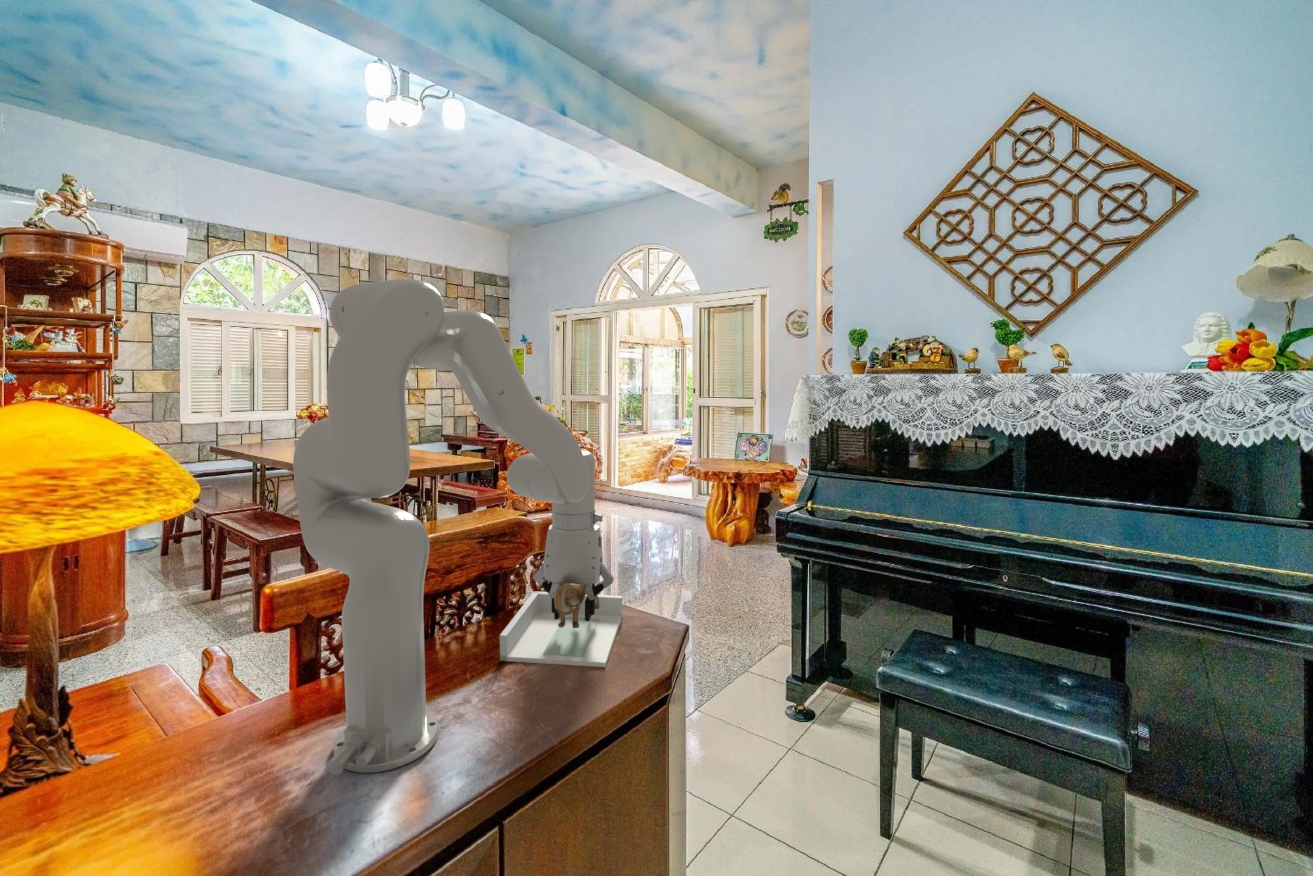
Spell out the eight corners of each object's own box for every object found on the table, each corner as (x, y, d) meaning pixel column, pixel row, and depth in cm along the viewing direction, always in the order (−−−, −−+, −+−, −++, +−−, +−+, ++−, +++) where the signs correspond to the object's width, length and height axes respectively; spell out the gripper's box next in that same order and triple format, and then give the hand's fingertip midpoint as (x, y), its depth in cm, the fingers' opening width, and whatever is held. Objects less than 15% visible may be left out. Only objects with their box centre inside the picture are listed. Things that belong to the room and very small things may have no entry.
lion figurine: (577, 639, 102) (576, 590, 101) (548, 636, 103) (546, 587, 102) (603, 603, 116) (603, 559, 115) (578, 601, 117) (577, 557, 116)
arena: (605, 667, 99) (605, 641, 99) (499, 660, 101) (499, 635, 100) (622, 617, 119) (622, 595, 118) (534, 612, 120) (533, 591, 120)
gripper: (623, 516, 109) (622, 611, 111) (532, 512, 110) (533, 606, 113) (617, 527, 102) (616, 629, 104) (520, 523, 103) (521, 623, 105)
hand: (573, 616), depth 108 cm, fingers closed on lion figurine, 4 cm apart
